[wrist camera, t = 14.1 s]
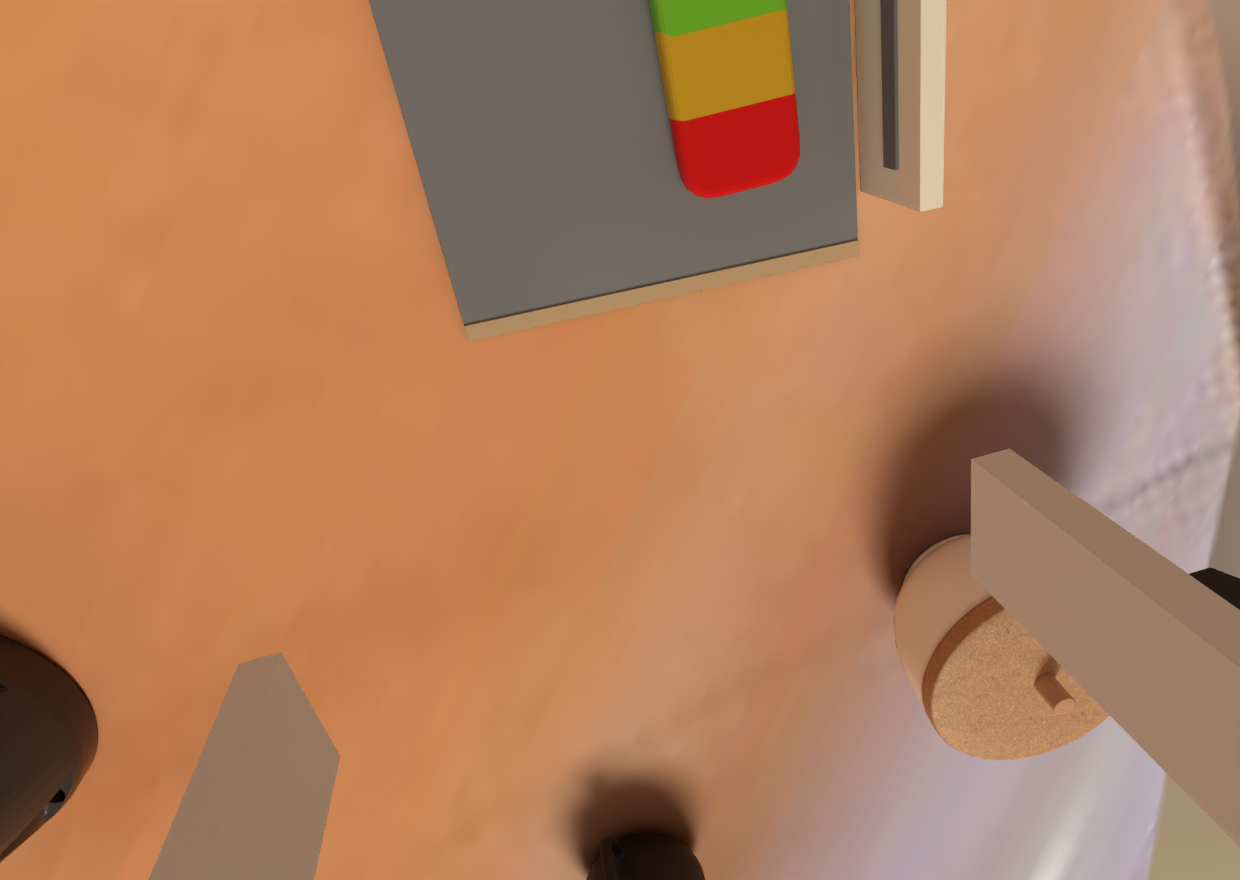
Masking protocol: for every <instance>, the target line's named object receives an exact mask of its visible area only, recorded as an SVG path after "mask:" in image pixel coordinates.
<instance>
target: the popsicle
mask: <svg viewBox="0 0 1240 880" xmlns="http://www.w3.org/2000/svg"><path fill="white" fill-rule="evenodd" d="M649 5H650V10H651V16H652V22H653V28H654V34H655V40H656V45H657V51H658V57H659V63H660V69H661V75H662V80H663V86H664V92H665V98H666V104H667V110H668V115H669V121H670V127H671V133H672V139H673V145H674V150H675V156H676V162H677V168H678V171H679V175H680V179H681V181H682V182H683V184H684V186H685V187H686V189H687V190H689V191H690V192H691V193H693V194H694V195H696V196H698V197H703V198H716V197H722V196H726V195H730V194H734V193H738V192H742V191H746V190H750V189H753V188H757V187H761V186H765V185H769V184H773V183H775V182H778V181H781V180H783V179H785V178H786V177H787V176H789V175H790V174H791V173H792V172H793V171H794V169H795V168H796V166H797V164H798V160H799V157H800V135H799V124H798V114H797V103H796V93H795V82H794V72H793V61H792V51H791V41H790V30H789V20H788V9H787V0H649Z"/></svg>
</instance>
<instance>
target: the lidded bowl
mask: <svg viewBox="0 0 1240 880" xmlns="http://www.w3.org/2000/svg"><path fill="white" fill-rule="evenodd" d="M893 625H894V637H895V644H896V648H897V651H898V654H899V658H900V661H901V664H902V667H903V669H904V672H905V674H906V676H907V678H908V680H909V682H910V684H911V686H912V688H913V689H914V691H915V693H916V695H917V696H918V698H919V700H920V701H921V703H922V705H923V706H924V708H925V712H926V714H927V716H928V718H929V719H930V721H931V723H932V725H933V726H934V728H935V729H936V731H937V733H938V734H939V735H940V736H941V737H942V738H943V740H944V741H945V742H946V743H947V744H949V745H950V746H952V747H953V748H955V749H956V750H958V751H960V752H963V753H965V754H968V755H970V756H974V757H978V758H982V759H989V760H1014V759H1020V758H1026V757H1031V756H1035V755H1038V754H1042V753H1046V752H1048V751H1051V750H1053V749H1056V748H1059V747H1061V746H1063V745H1065V744H1067V743H1069V742H1071V741H1074V740H1076V739H1077V738H1079V737H1081V736H1082V735H1084V734H1085V733H1087V732H1089V731H1090V730H1092V729H1093V728H1094V727H1096V726H1097V725H1099V724H1100V723H1101V722H1103V721H1104V720H1105V719H1106V718H1107V717H1108V716H1110V715H1109V714H1108V713H1107V712H1106V711H1105V710H1104V709H1103V708H1102V707H1101V706H1100V705H1099V704H1098V703H1097V702H1096V701H1095V700H1094V699H1093V698H1092V697H1091V696H1090V695H1089V694H1088V693H1087V692H1086V691H1085V690H1084V689H1083V688H1082V687H1081V686H1080V685H1079V683H1078V682H1077V681H1076V680H1075V679H1074V678H1073V677H1072V676H1071V675H1070V674H1069V673H1068V672H1067V671H1066V670H1065V669H1064V668H1063V667H1062V666H1061V665H1060V664H1059V663H1058V662H1057V661H1056V660H1055V659H1054V658H1053V657H1052V656H1051V655H1050V654H1049V653H1048V652H1047V651H1046V650H1045V649H1044V648H1043V647H1042V646H1041V645H1040V644H1039V643H1038V642H1037V641H1036V640H1035V639H1034V638H1033V637H1032V636H1031V635H1030V634H1029V633H1028V632H1027V631H1026V630H1025V629H1024V628H1023V627H1022V626H1021V625H1020V624H1019V623H1018V622H1017V621H1016V620H1015V619H1014V618H1013V616H1012V615H1011V614H1010V613H1009V612H1008V611H1007V610H1006V609H1005V608H1004V607H1003V606H1002V605H1001V604H1000V603H999V602H998V601H997V600H996V599H995V598H994V597H993V596H992V595H991V594H990V593H989V592H988V591H987V590H986V589H985V588H984V587H983V586H982V585H981V584H980V583H979V582H978V581H977V580H976V579H975V578H974V577H973V576H972V575H971V534H961V535H956V536H952V537H949V538H946V539H944V540H941V541H939V542H937V543H936V544H934V545H932V546H931V547H929V548H928V549H927V550H925V551H924V552H923V553H922V554H921V555H920V556H919V557H918V558H917V559H916V560H915V561H914V562H913V564H912V565H911V567H910V568H909V570H908V572H907V574H906V576H905V578H904V582H903V586H902V588H901V590H900V592H899V595H898V598H897V601H896V605H895V613H894V621H893Z"/></svg>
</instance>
